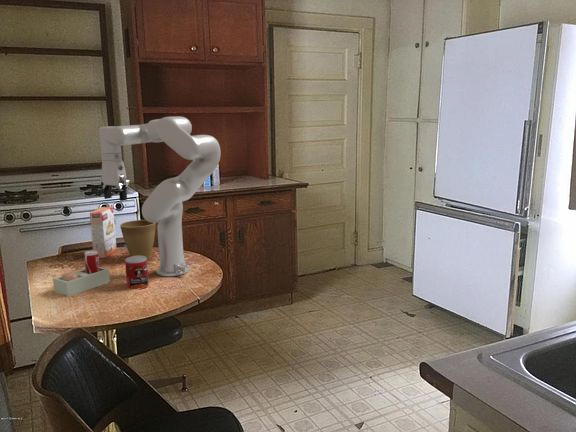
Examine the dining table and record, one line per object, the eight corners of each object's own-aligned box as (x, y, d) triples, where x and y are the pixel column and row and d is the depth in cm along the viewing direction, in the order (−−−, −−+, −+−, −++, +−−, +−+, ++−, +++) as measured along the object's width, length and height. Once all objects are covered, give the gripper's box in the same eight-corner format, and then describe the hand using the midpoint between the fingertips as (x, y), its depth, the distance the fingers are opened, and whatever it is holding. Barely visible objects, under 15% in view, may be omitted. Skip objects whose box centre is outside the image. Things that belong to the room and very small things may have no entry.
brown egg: (82, 289, 180) (80, 273, 179) (69, 294, 176) (67, 277, 175) (73, 287, 183) (72, 271, 182) (60, 291, 179) (58, 275, 178)
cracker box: (106, 258, 220) (102, 212, 216) (93, 259, 220) (88, 212, 216) (117, 250, 234) (113, 206, 230) (105, 250, 234) (100, 206, 230)
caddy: (110, 284, 188) (108, 269, 187) (68, 298, 174) (66, 282, 173) (96, 280, 193) (94, 265, 192) (54, 293, 179) (52, 278, 178)
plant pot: (165, 255, 224) (162, 220, 220) (143, 265, 210) (140, 228, 207) (138, 252, 230) (135, 218, 226) (115, 261, 216) (112, 225, 213)
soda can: (96, 285, 184) (94, 254, 182) (83, 284, 185) (80, 253, 182) (103, 280, 190) (100, 250, 187) (90, 280, 190) (87, 249, 188)
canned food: (129, 292, 179) (126, 262, 177) (125, 285, 186) (123, 257, 184) (151, 288, 183) (148, 259, 180) (146, 281, 190) (144, 254, 187)
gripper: (133, 157, 199) (137, 199, 203) (106, 155, 209) (110, 196, 212) (118, 159, 193) (121, 202, 197) (90, 157, 203) (94, 199, 206)
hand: (115, 199), depth 205 cm, fingers open, 9 cm apart
